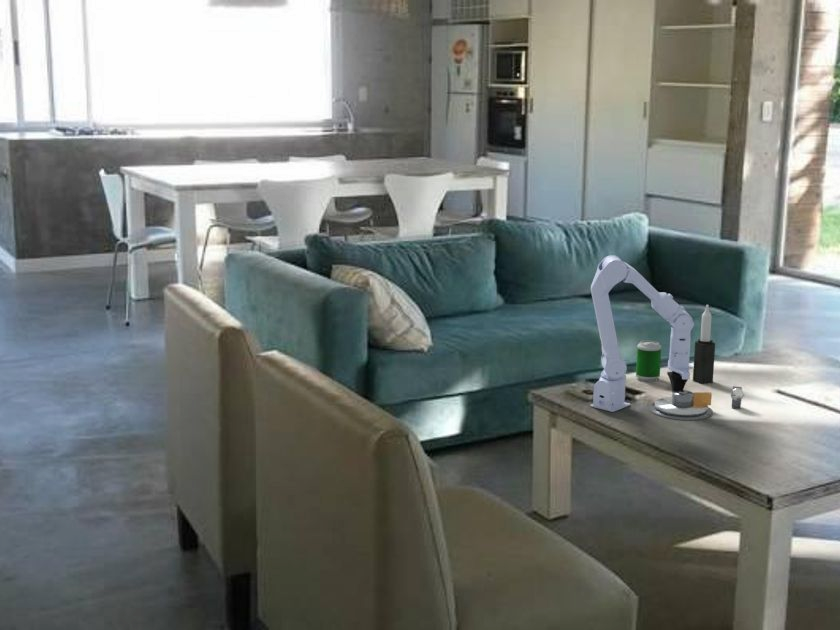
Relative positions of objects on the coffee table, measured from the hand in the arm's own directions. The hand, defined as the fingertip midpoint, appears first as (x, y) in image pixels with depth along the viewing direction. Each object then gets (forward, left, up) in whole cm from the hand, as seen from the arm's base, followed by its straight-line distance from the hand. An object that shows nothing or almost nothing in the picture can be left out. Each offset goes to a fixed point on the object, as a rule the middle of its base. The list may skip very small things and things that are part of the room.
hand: (677, 396), depth 309 cm
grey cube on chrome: (+11, -13, -3) cm, 17 cm away
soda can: (+19, +22, -3) cm, 29 cm away
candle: (+29, +8, -3) cm, 30 cm away
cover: (-3, -3, -1) cm, 4 cm away
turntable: (-3, -3, -3) cm, 5 cm away
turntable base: (-3, -3, -3) cm, 5 cm away
